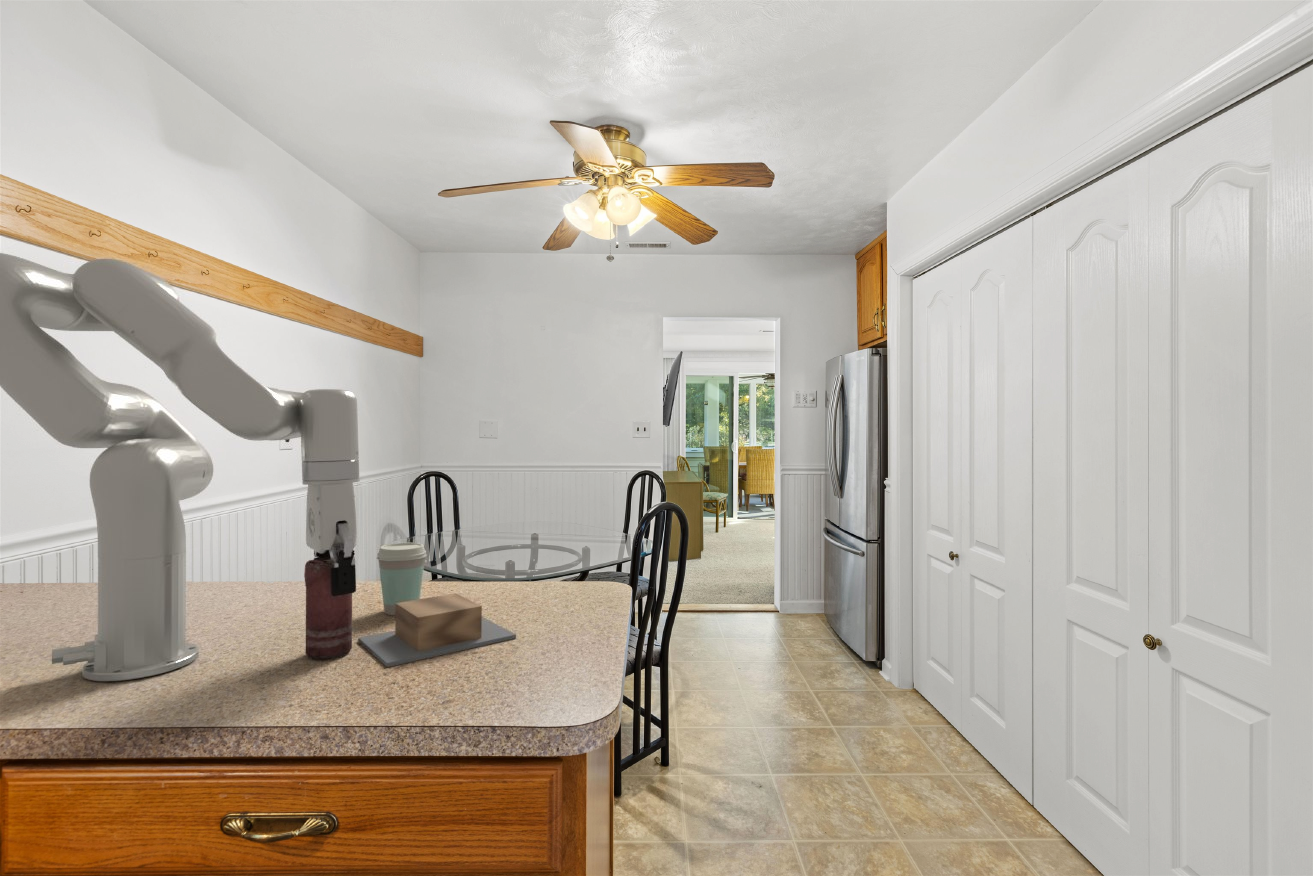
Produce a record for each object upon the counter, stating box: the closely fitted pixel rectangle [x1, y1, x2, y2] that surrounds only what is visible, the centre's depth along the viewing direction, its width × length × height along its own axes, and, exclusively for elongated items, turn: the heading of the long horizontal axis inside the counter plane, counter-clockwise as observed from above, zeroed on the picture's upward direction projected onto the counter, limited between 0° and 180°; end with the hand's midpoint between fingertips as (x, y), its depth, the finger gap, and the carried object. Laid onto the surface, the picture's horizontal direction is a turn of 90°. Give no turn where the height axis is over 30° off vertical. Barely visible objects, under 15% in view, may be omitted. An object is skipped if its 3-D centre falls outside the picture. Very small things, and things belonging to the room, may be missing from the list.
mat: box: [357, 616, 517, 668], centre depth 100 cm, size 20×14×1 cm
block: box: [394, 593, 483, 651], centre depth 100 cm, size 10×10×5 cm
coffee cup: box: [376, 542, 427, 616], centre depth 115 cm, size 9×9×12 cm
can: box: [303, 556, 353, 661], centre depth 93 cm, size 6×6×14 cm
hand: (334, 588), depth 93 cm, fingers open, 9 cm apart
